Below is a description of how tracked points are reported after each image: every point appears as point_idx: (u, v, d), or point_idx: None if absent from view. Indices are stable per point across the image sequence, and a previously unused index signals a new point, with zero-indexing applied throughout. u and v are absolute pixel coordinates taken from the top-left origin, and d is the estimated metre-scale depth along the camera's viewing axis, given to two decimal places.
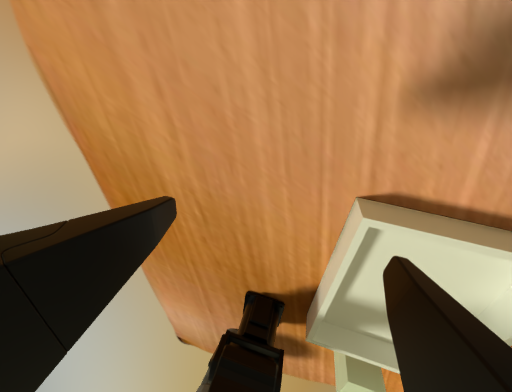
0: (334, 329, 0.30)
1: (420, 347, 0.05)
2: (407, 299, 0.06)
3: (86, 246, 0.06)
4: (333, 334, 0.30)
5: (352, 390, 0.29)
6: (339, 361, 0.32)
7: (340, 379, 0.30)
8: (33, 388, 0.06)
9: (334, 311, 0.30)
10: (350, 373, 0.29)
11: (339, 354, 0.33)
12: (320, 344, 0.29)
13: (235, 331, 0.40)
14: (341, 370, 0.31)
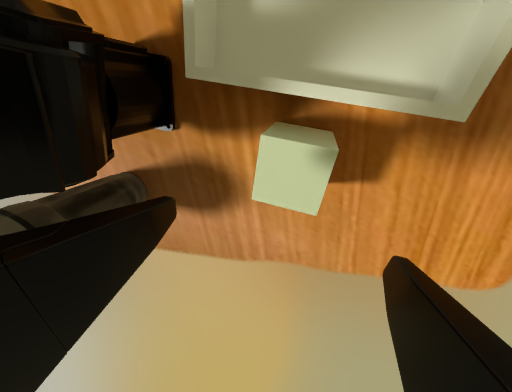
0: None
1: (420, 347, 0.05)
2: (407, 299, 0.06)
3: (86, 246, 0.06)
4: None
5: (274, 166, 0.14)
6: None
7: None
8: (33, 388, 0.06)
9: (245, 25, 0.15)
10: (271, 132, 0.14)
11: None
12: (211, 75, 0.14)
13: (124, 173, 0.26)
14: None
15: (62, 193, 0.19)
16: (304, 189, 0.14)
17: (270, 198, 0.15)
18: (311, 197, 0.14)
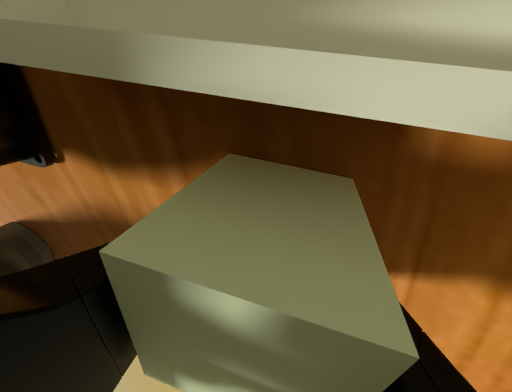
0: None
1: None
2: None
3: None
4: None
5: (173, 335, 0.04)
6: None
7: None
8: None
9: None
10: (164, 222, 0.04)
11: None
12: None
13: (9, 225, 0.16)
14: None
15: None
16: None
17: (187, 387, 0.05)
18: None
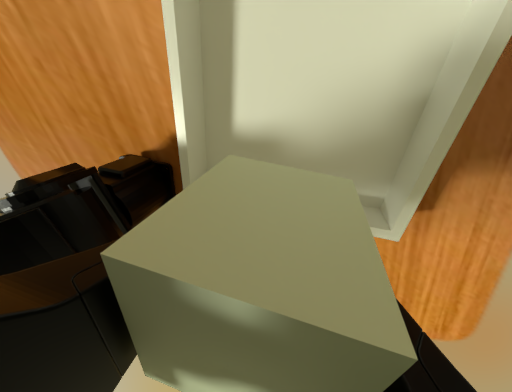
0: None
1: None
2: None
3: None
4: None
5: (174, 336, 0.04)
6: None
7: None
8: None
9: (229, 151, 0.19)
10: (165, 224, 0.04)
11: None
12: None
13: None
14: None
15: None
16: None
17: (188, 387, 0.06)
18: None
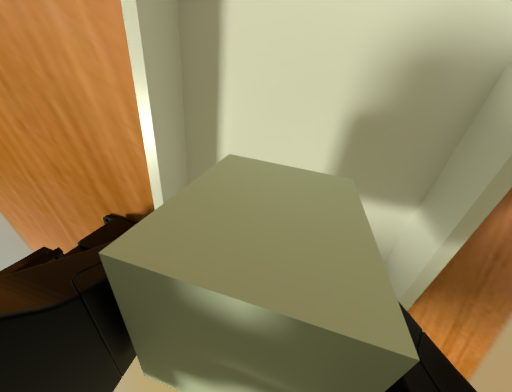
0: None
1: None
2: None
3: None
4: None
5: (173, 336, 0.04)
6: None
7: None
8: None
9: None
10: (164, 223, 0.04)
11: None
12: None
13: None
14: None
15: None
16: None
17: (187, 388, 0.05)
18: None
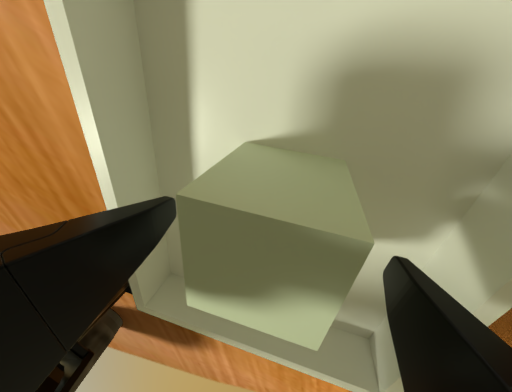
0: None
1: (420, 347, 0.05)
2: (407, 299, 0.06)
3: (86, 246, 0.06)
4: None
5: (218, 258, 0.06)
6: None
7: None
8: (33, 388, 0.06)
9: None
10: (210, 182, 0.06)
11: None
12: (159, 315, 0.15)
13: None
14: None
15: None
16: (289, 306, 0.06)
17: (221, 309, 0.07)
18: (305, 321, 0.06)
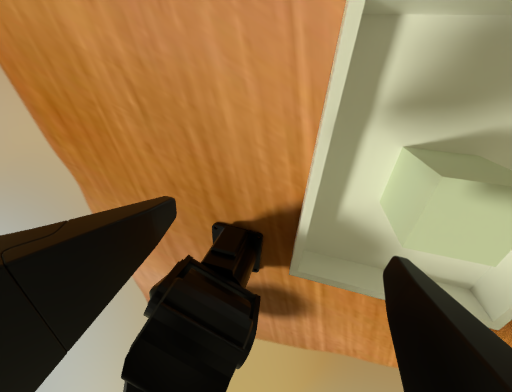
0: (329, 260, 0.22)
1: (420, 347, 0.05)
2: (407, 299, 0.06)
3: (86, 246, 0.06)
4: (328, 265, 0.21)
5: (450, 211, 0.11)
6: (399, 191, 0.15)
7: (410, 209, 0.13)
8: (33, 388, 0.06)
9: (328, 233, 0.21)
10: (442, 170, 0.11)
11: (396, 183, 0.15)
12: (309, 277, 0.20)
13: None
14: (409, 193, 0.13)
15: None
16: (488, 237, 0.11)
17: (431, 246, 0.13)
18: (496, 246, 0.12)
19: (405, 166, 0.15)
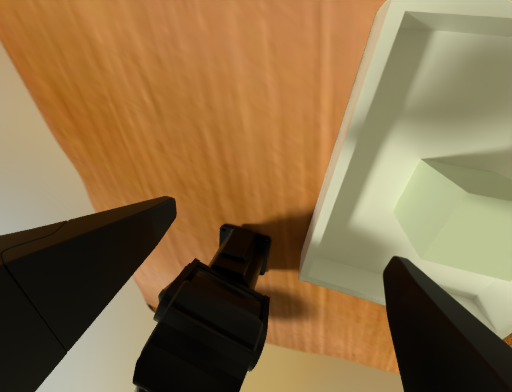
0: (337, 266, 0.22)
1: (420, 347, 0.05)
2: (407, 299, 0.06)
3: (86, 246, 0.06)
4: (337, 271, 0.21)
5: (472, 227, 0.12)
6: (416, 203, 0.15)
7: (429, 222, 0.13)
8: (33, 388, 0.06)
9: (338, 239, 0.21)
10: (466, 186, 0.12)
11: (413, 195, 0.16)
12: (319, 283, 0.20)
13: None
14: (429, 206, 0.14)
15: None
16: (506, 253, 0.12)
17: (449, 259, 0.13)
18: None
19: (424, 179, 0.15)
